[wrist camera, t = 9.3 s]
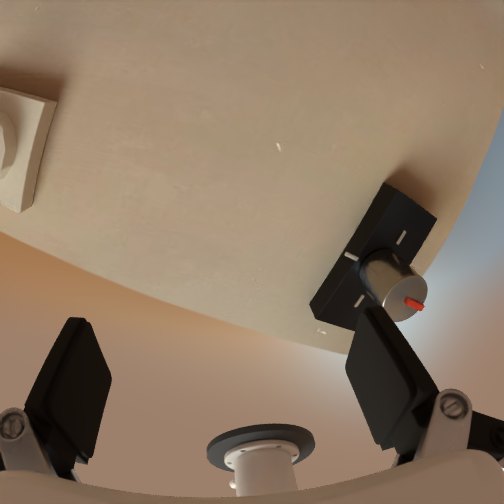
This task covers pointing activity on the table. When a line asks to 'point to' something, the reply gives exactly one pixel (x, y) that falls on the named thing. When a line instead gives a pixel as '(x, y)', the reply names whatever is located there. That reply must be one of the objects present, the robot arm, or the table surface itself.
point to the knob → (393, 284)
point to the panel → (365, 243)
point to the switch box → (21, 145)
